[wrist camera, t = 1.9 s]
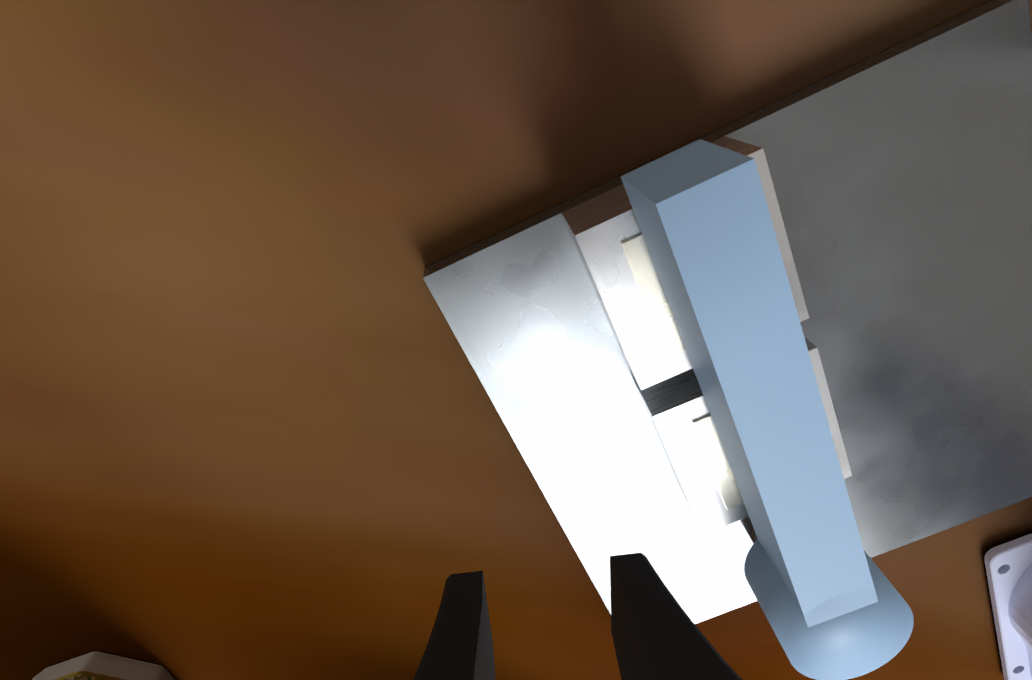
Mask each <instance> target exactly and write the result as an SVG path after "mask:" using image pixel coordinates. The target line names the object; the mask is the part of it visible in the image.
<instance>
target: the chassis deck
mask: <svg viewBox="0 0 1032 680" xmlns="http://www.w3.org/2000/svg"><path fill="white" fill-rule="evenodd" d="M724 136H726V137H729V138H732V139H735V140H739V141H742V142H745V143H748V144H752V145H755V146H758V147H761V148H763V149H764V153H765V156H766V160H767V164H768V167H769V171H770V175H771V179H772V182H773V186H774V190H775V193H776V197H777V201H778V204H779V208H780V212H781V215H782V219H783V223H784V226H785V230H786V234H787V237H788V241H789V245H790V249H791V252H792V256H793V260H794V263H795V267H796V271H797V274H798V278H799V282H800V285H801V289H802V293H803V296H804V300H805V304H806V307H807V311H808V315H809V319H806V320H804V321H802V322H800V323H801V327H802V331H803V334H804V337H805V338H807V339H808V340H809V341H810V342H811V343H813V344H814V345H815V346H816V347H817V348H818V352H819V355H820V359H821V363H822V366H823V370H824V374H825V377H826V381H827V385H828V388H829V392H830V396H831V400H832V403H833V407H834V411H835V414H836V418H837V422H838V425H839V429H840V433H841V436H842V440H843V444H844V447H845V451H846V455H847V458H848V462H849V466H850V469H851V473H852V476H850V477H848V478H845V479H844V481H845V484H846V488H847V492H848V495H849V499H850V502H851V506H852V509H853V513H854V517H855V520H856V524H857V527H858V531H859V534H860V538H861V542H862V545H863V549H864V551H865V552H866V553H867V554H868V556H869V557H870V558H872V557H874V556H877V555H880V554H882V553H885V552H887V551H890V550H893V549H895V548H898V547H901V546H903V545H906V544H909V543H911V542H914V541H917V540H919V539H922V538H925V537H927V536H930V535H933V534H935V533H938V532H940V531H943V530H946V529H948V528H951V527H954V526H956V525H959V524H962V523H964V522H967V521H970V520H972V519H975V518H978V517H980V516H983V515H985V514H988V513H991V512H993V511H996V510H999V509H1001V508H1004V507H1007V506H1009V505H1012V504H1015V503H1017V502H1020V501H1023V500H1025V499H1028V498H1031V497H1032V35H1031V22H1030V10H1029V0H991V1H989V2H987V3H984V4H982V5H980V6H978V7H976V8H974V9H972V10H970V11H968V12H965V13H963V14H961V15H959V16H957V17H955V18H953V19H951V20H948V21H946V22H944V23H942V24H940V25H938V26H936V27H934V28H931V29H929V30H927V31H925V32H923V33H921V34H919V35H917V36H915V37H912V38H910V39H908V40H906V41H904V42H902V43H900V44H898V45H895V46H893V47H891V48H889V49H887V50H885V51H883V52H881V53H879V54H876V55H874V56H872V57H870V58H868V59H866V60H864V61H862V62H859V63H857V64H855V65H853V66H851V67H849V68H847V69H845V70H842V71H840V72H838V73H836V74H834V75H832V76H830V77H828V78H826V79H823V80H821V81H819V82H817V83H815V84H813V85H811V86H809V87H806V88H804V89H802V90H800V91H798V92H796V93H794V94H792V95H790V96H787V97H785V98H783V99H781V100H779V101H777V102H775V103H773V104H770V105H768V106H766V107H764V108H762V109H760V110H758V111H756V112H753V113H751V114H749V115H747V116H745V117H743V118H741V119H739V120H737V121H734V122H732V123H730V124H728V125H726V126H724V127H722V128H720V129H717V130H715V131H713V132H711V133H709V134H707V135H705V136H703V137H701V138H698V139H696V140H694V141H692V142H690V143H688V144H686V145H684V146H681V147H679V148H677V149H675V150H673V151H671V152H669V153H667V154H664V155H662V156H660V157H658V158H656V159H654V160H652V161H650V162H648V163H645V164H643V165H641V166H639V167H637V168H635V169H633V170H631V171H628V172H626V173H624V174H622V175H620V176H618V177H616V178H614V179H612V180H609V181H607V182H605V183H603V184H601V185H599V186H597V187H595V188H592V189H590V190H588V191H586V192H584V193H582V194H580V195H578V196H575V197H573V198H571V199H569V200H567V201H565V202H563V203H561V204H559V205H556V206H554V207H552V208H550V209H548V210H546V211H544V212H542V213H539V214H537V215H535V216H533V217H531V218H529V219H527V220H525V221H523V222H520V223H518V224H516V225H514V226H512V227H510V228H508V229H506V230H503V231H501V232H499V233H497V234H495V235H493V236H491V237H489V238H486V239H484V240H482V241H480V242H478V243H476V244H474V245H472V246H470V247H467V248H465V249H463V250H461V251H459V252H457V253H455V254H453V255H450V256H448V257H446V258H444V259H442V260H440V261H438V262H436V263H434V264H431V265H429V266H427V267H425V270H424V275H423V279H424V281H425V282H426V284H427V286H428V288H429V290H430V291H431V293H432V295H433V297H434V299H435V300H436V302H437V304H438V306H439V308H440V309H441V311H442V313H443V315H444V317H445V318H446V320H447V322H448V324H449V325H450V327H451V329H452V331H453V333H454V334H455V336H456V338H457V340H458V342H459V343H460V345H461V347H462V349H463V351H464V352H465V354H466V356H467V358H468V360H469V361H470V363H471V365H472V367H473V369H474V370H475V372H476V374H477V376H478V377H479V379H480V381H481V383H482V385H483V386H484V388H485V390H486V392H487V394H488V395H489V397H490V399H491V401H492V403H493V404H494V406H495V408H496V410H497V412H498V413H499V415H500V417H501V419H502V420H503V422H504V424H505V426H506V428H507V429H508V431H509V433H510V435H511V437H512V438H513V440H514V442H515V444H516V446H517V447H518V449H519V451H520V453H521V455H522V456H523V458H524V460H525V462H526V464H527V465H528V467H529V469H530V471H531V472H532V474H533V476H534V478H535V480H536V481H537V483H538V485H539V487H540V489H541V490H542V492H543V494H544V496H545V498H546V499H547V501H548V503H549V505H550V507H551V508H552V510H553V512H554V514H555V515H556V517H557V519H558V521H559V523H560V524H561V526H562V528H563V530H564V532H565V533H566V535H567V537H568V539H569V541H570V542H571V544H572V546H573V548H574V550H575V551H576V553H577V555H578V557H579V559H580V560H581V562H582V564H583V566H584V567H585V569H586V571H587V573H588V575H589V576H590V578H591V580H592V582H593V584H594V585H595V587H596V589H597V591H598V593H599V594H600V596H601V598H602V600H603V602H604V603H605V605H606V607H607V609H608V610H609V612H610V614H611V586H610V556H615V555H624V554H632V553H642V554H644V555H645V556H646V557H647V558H648V560H649V562H650V563H651V565H652V566H653V568H654V569H655V571H656V573H657V574H658V576H659V577H660V578H661V580H662V581H663V583H664V584H665V586H666V587H667V588H668V590H669V591H670V593H671V594H672V595H673V597H674V598H675V599H676V601H677V602H678V603H679V605H680V606H681V608H682V609H683V610H684V611H685V613H686V614H687V615H688V617H689V618H690V619H691V620H692V622H693V623H694V624H697V623H699V622H702V621H705V620H707V619H710V618H713V617H715V616H718V615H721V614H723V613H726V612H728V611H731V610H734V609H736V608H739V607H742V606H744V605H747V604H750V603H752V602H755V601H758V600H757V599H756V597H755V595H754V593H753V591H752V589H751V587H750V585H749V584H748V582H747V580H746V577H745V572H744V564H745V560H746V556H747V554H748V552H749V550H750V548H751V547H752V545H753V542H752V540H751V539H750V537H749V535H748V534H747V532H746V530H745V528H744V527H743V525H742V523H741V522H740V520H739V521H736V522H734V523H731V524H729V525H726V526H724V527H721V528H719V529H716V530H713V531H711V532H708V533H706V534H702V532H701V530H700V527H699V525H698V523H697V521H696V519H695V517H694V515H693V513H692V511H691V509H690V507H689V505H688V503H687V501H686V499H685V497H684V495H683V493H682V491H681V489H680V487H679V485H678V482H677V480H676V478H675V475H674V473H673V471H672V469H671V466H670V464H669V462H668V459H667V457H666V455H665V452H664V450H663V448H662V445H661V443H660V441H659V438H658V436H657V434H656V431H655V429H654V427H653V424H652V422H651V420H650V417H649V415H648V413H647V411H646V408H645V406H644V404H643V401H642V399H641V397H640V394H639V392H638V390H637V387H636V385H635V383H634V380H633V378H632V377H633V376H634V375H633V374H632V372H631V370H630V368H629V366H628V364H627V362H626V360H625V358H624V356H623V354H622V352H621V350H620V348H619V346H618V343H617V341H616V339H615V336H614V334H613V332H612V329H611V327H610V325H609V322H608V320H607V318H606V315H605V313H604V311H603V308H602V306H601V304H600V301H599V299H598V297H597V294H596V292H595V290H594V288H593V285H592V283H591V281H590V278H589V276H588V274H587V271H586V269H585V267H584V264H583V262H582V260H581V257H580V255H579V253H578V250H577V248H576V246H575V243H574V241H573V239H572V236H571V234H570V232H569V230H568V227H567V225H566V223H565V220H564V218H563V216H562V212H564V211H566V210H568V209H571V208H573V207H575V206H577V205H579V204H581V203H583V202H586V201H588V200H590V199H592V198H594V197H596V196H598V195H600V194H603V193H605V192H607V191H609V190H611V189H613V188H615V187H617V186H620V185H622V184H623V182H622V179H621V176H623V175H625V174H627V173H629V172H632V171H634V170H636V169H638V168H640V167H642V166H644V165H646V164H649V163H651V162H653V161H655V160H657V159H659V158H661V157H663V156H665V155H668V154H670V153H672V152H674V151H676V150H678V149H680V148H682V147H685V146H687V145H689V144H691V143H693V142H695V141H697V140H699V139H701V140H704V141H707V142H710V143H711V142H713V141H715V140H717V139H720V138H722V137H724Z"/></svg>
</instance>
